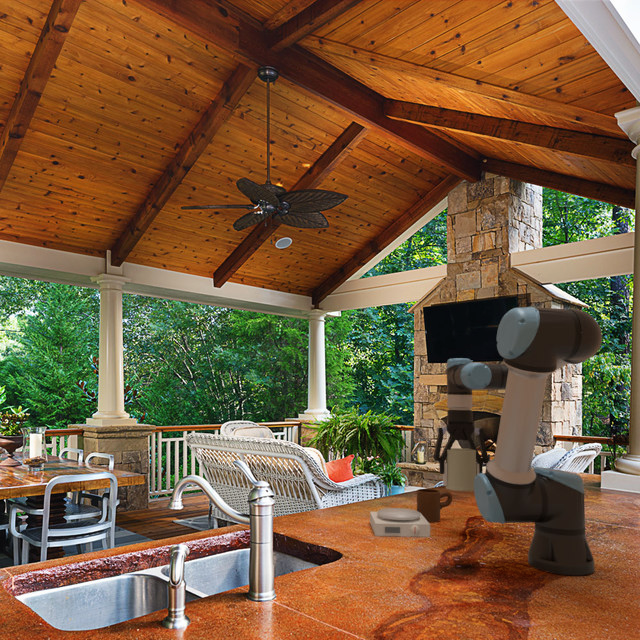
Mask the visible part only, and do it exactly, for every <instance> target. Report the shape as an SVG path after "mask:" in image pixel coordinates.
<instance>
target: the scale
mask: <svg viewBox="0 0 640 640" xmlns="http://www.w3.org/2000/svg"><path fill="white" fill-rule="evenodd" d="M369 523H370V526H371V529H372V531H373V534H374V536H375V537H405V538H406V537H409V538H410V537H411V538H412V537H413V538H414V537H415V538H416V537H417V538H431V524H430V522H428V521H427V520H426V519H425V518H424V517H423V515H422V514H421V513H420V512H418V511H417V510H415V509H411V508H404V507H403V508H402V507H400V508H399V507H387V508H386V507H385V508H379V509H378V510H377V511H370V512H369Z"/></svg>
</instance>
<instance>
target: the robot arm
mask: <svg viewBox="0 0 640 640" xmlns="http://www.w3.org/2000/svg"><path fill="white" fill-rule="evenodd" d="M499 322H500V323H499V325H498V328H497V333H496V342H497V343H496V349H497V351H498V354H499V356H501V357H502V358H503V360H502V362H503V363H484V362H483V363H482V362H472V359H470V358H463V357H460V358H459V357H458V358H457V357H456V358H455V357H454V358H449V359H447V361H446V369H445V373H446V394H447V397H446V398H447V399H446V401H447V403H446V405H447V408H448V410H447V418H446V419H447V425H446V426H444V427H440V426H439V427H437V428H436V431H437V437H436V443H435V447H434V451H433V457H432V459H433V460H434V461H437V462H438V463H439V466H438V467H439V471H438V472H439V473H440V474H442V485H443V486H445V487H446V486H447V463H446V458H447V450H450V449H451V448H453V445H454V443H455V442H456V441H466V444H468V447H469V449H472V450H476V477H475V480H474V492H473V493H474V498H475V502H476V503H475V504H476V506H477V508H478V511H479V513H480V515H481V517H482V518H483V519H484V520H485V521H486V522H488V523H496V524H500V525H501V524H502V525H503V524H519V523H520V524H524V523H529V524H530V523H534V531H533V532H534V534H533V535H532V539H531V542H530V546H529V548H528V551H527V560H528V561H527V563H528V564H529V565H530V566H531V567H533V568H534V569H537V570H540V571H543V572H546V573H551V574H555V575H556V574H557V575H565V576H585V575H586V576H587V575H591V574H592V573H594V572H595V570H596V569H595V559H594V557H593V552H592V550H591V547H590V544H589V541H588V540H587V537H586V514H585V513H586V512H585V509H586V507H585V495H586V493H585V492H586V491H585V483H584V479H583V478H582V476H581V475H579V474H577V473H574V472H570V471H566V470H565V471H564V470H560V469H555V468H549V467H542V466H541V467H539V466H538V467H537V466H535V467H534V468H532V462H533V457H534V452H535V448H536V447H535V446H536V441H537V436H538V432H539V431H538V429H539V425H540V419H541V414H542V408H543V402H544V399H545V398H544V396H545V393H546V392H545V391H546V386H547V382H548V377H549V376H550V375H552V374H554V373H555V372H556V371H557V370H560V369H561V368H563V367H565V366H567V365H569V364H570V365H578V364H581V363H583V362H586V361H587V360H589V359H591V358H593V356H595V354H597V353H598V351H599V350H600V348H601V346H602V342H603V333H602V330H601V327H600V325H599V323H598V321H596V319H595V318H594V317H593V316H591V315H590V314H589V313H588V312H587V313H586V312H585V311H583V310H579V309H575V308H552V307H536V306H535V307H532V306H527V307H513V308H512V309H510V310H508V311H507V312H506V313H505V314H504V315H503V316H502V318H501V320H500V321H499ZM473 390H503V391H504V394H503V395H504V397H503V401H502V409H501V415H500V421H499V427H498V433H497V439H496V445H495V453H494V456H493V458H492V459H489V455H488V454H489V453H488V451H487V447H486V446H487V445H486V443H485V439H484V432H485V429H484V428H482V427H475V426H474V416H473V415H474V411H473V410H472V409H473V408H474V407H473ZM446 432H447V433H448V434H449V437H448V439H447V441H446V444H445V447H444V448H443V450H442V452H441V449H442V444H443V440H444V435H445V434H446ZM473 433H474V434H475V435H476V438H477V441H478V446H479V450H478V449H477V447H476V445H475V443H474V439H473V438H472V435H473ZM479 451H480V453H479ZM485 462H486V465H485V466H486V467H485V472H483V464H484V463H485Z"/></svg>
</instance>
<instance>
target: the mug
mask: <svg viewBox="0 0 640 640" xmlns="http://www.w3.org/2000/svg"><path fill="white" fill-rule="evenodd" d="M445 497H447V499H446V501H442V502H441V499H442V498H445ZM452 502H453V496H452V493H451V492H450V491H448V490H447V491H444V490H443V491H441V492H440V490H439V489H435V488H433V489H432V488H420V489H417V490H416V511H418V512H420V513H421V514H422V515H423V517H424V518H425V519H426V520H427V521H428V522H429V523H437V522H440V520H441V510H442V509H443V508H446V507H449V506H451V504H452Z"/></svg>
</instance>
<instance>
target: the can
mask: <svg viewBox="0 0 640 640" xmlns="http://www.w3.org/2000/svg"><path fill="white" fill-rule="evenodd" d="M445 463H447V486H445V489H446V490H450V491H454V492H455V491H457V492H458V491H459V492H473V491H474V480H475V477H476V463H477V461H476V450H472V449H470V447H469V448H468V447H466V448H457V447H454V448H453V447H451V449H450V450H447V458H446V460H445Z"/></svg>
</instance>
